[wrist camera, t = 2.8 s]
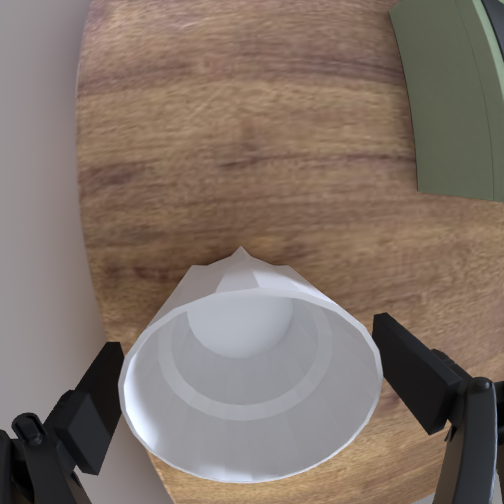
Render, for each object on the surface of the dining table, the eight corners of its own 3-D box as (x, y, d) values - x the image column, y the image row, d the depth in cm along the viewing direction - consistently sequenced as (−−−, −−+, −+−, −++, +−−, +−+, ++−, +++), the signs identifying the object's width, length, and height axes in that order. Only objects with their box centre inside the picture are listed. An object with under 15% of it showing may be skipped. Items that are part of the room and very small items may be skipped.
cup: (285, 209, 18) (352, 237, 8) (330, 340, 20) (391, 434, 11) (138, 269, 18) (69, 346, 8) (203, 387, 20) (197, 496, 11)
